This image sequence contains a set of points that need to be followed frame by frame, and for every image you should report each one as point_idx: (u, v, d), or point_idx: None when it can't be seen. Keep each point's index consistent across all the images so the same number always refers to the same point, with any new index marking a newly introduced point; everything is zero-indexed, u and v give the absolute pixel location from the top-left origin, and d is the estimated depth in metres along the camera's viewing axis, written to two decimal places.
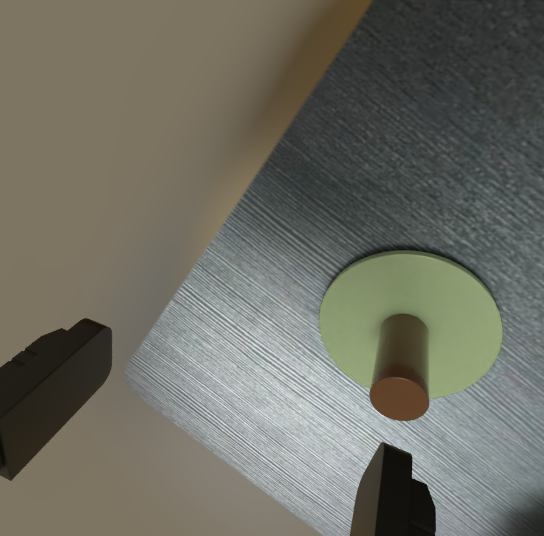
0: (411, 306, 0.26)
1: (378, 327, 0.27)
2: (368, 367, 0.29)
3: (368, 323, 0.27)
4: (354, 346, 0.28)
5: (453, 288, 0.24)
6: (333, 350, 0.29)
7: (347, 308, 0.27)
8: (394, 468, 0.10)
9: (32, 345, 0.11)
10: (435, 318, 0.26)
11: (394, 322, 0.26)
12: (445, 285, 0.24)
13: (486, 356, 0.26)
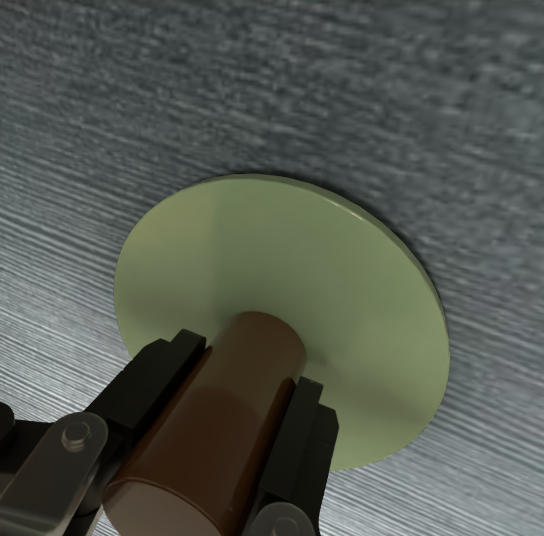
0: (243, 294, 0.13)
1: None
2: None
3: None
4: None
5: (288, 229, 0.11)
6: None
7: (157, 332, 0.15)
8: (304, 394, 0.11)
9: (138, 355, 0.11)
10: (294, 303, 0.12)
11: (216, 335, 0.13)
12: (272, 229, 0.11)
13: (428, 353, 0.12)
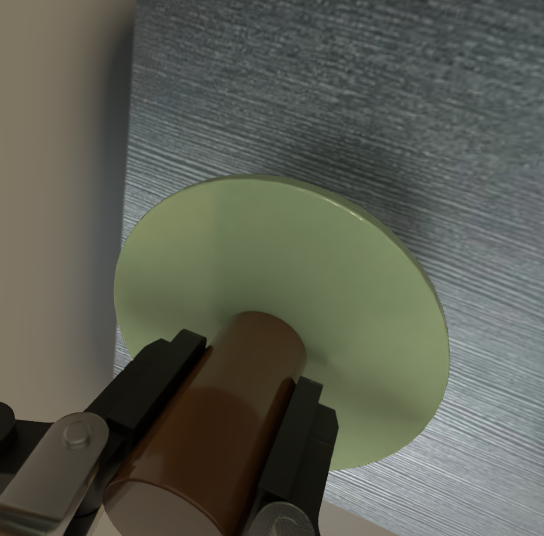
0: (243, 294, 0.13)
1: None
2: None
3: None
4: None
5: (289, 229, 0.11)
6: None
7: (158, 332, 0.15)
8: (304, 393, 0.11)
9: (139, 355, 0.11)
10: (294, 303, 0.12)
11: (216, 335, 0.13)
12: (272, 229, 0.11)
13: (427, 353, 0.12)
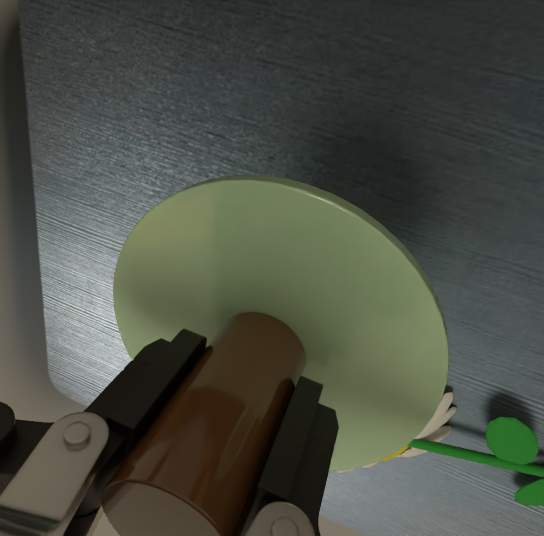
0: (242, 295, 0.13)
1: None
2: None
3: None
4: None
5: (288, 230, 0.11)
6: None
7: (157, 333, 0.15)
8: (304, 393, 0.11)
9: (139, 355, 0.11)
10: (293, 303, 0.12)
11: (215, 336, 0.13)
12: (271, 230, 0.11)
13: (427, 354, 0.12)
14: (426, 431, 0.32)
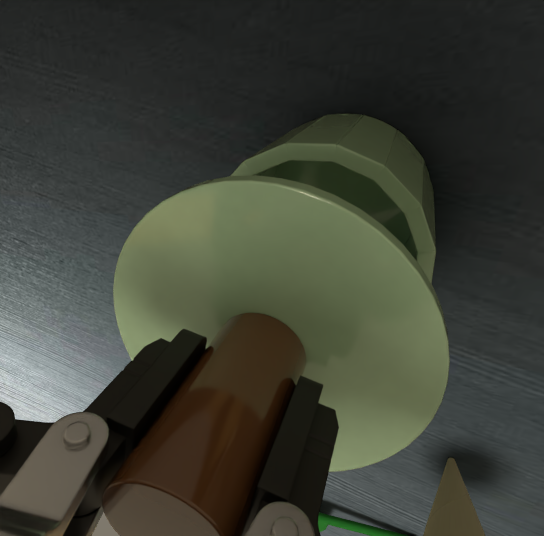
0: (242, 295, 0.13)
1: None
2: None
3: None
4: None
5: (288, 231, 0.11)
6: None
7: (157, 333, 0.15)
8: (304, 393, 0.11)
9: (139, 355, 0.11)
10: (294, 304, 0.12)
11: (216, 336, 0.13)
12: (271, 230, 0.11)
13: (427, 355, 0.12)
14: None
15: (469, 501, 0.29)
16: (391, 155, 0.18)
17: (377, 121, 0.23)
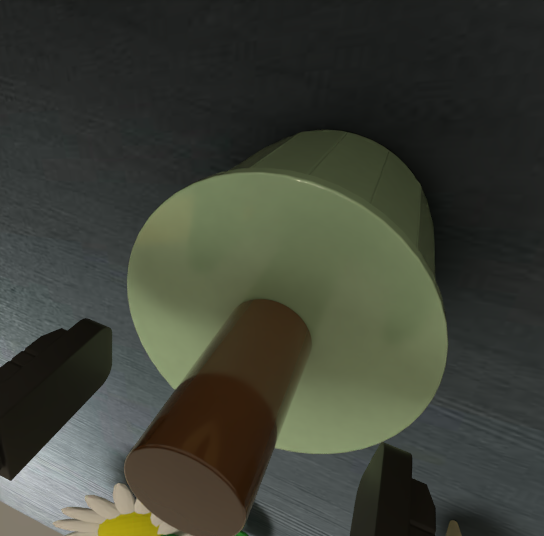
0: (251, 282, 0.13)
1: None
2: None
3: (210, 336, 0.15)
4: None
5: (296, 220, 0.12)
6: None
7: (169, 320, 0.15)
8: (394, 468, 0.10)
9: (32, 345, 0.11)
10: (301, 290, 0.13)
11: (226, 321, 0.13)
12: (280, 219, 0.12)
13: (426, 337, 0.12)
14: (173, 528, 0.35)
15: None
16: (378, 191, 0.14)
17: (364, 140, 0.18)
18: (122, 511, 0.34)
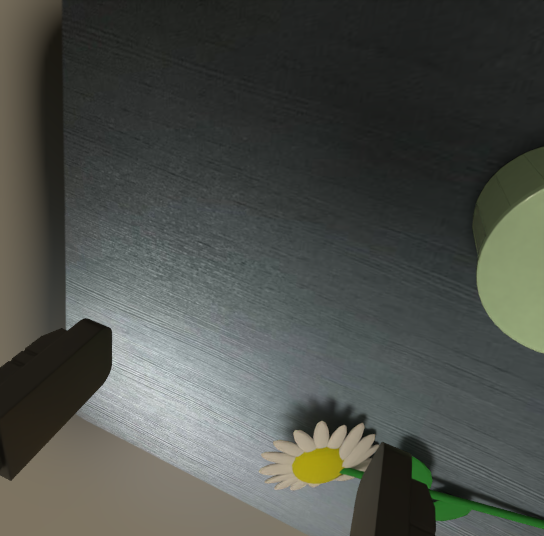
0: None
1: None
2: None
3: (542, 277, 0.23)
4: (531, 310, 0.24)
5: None
6: (505, 323, 0.25)
7: (511, 267, 0.23)
8: (394, 468, 0.10)
9: (32, 345, 0.11)
10: None
11: None
12: None
13: None
14: (353, 462, 0.43)
15: None
16: None
17: None
18: (319, 445, 0.42)
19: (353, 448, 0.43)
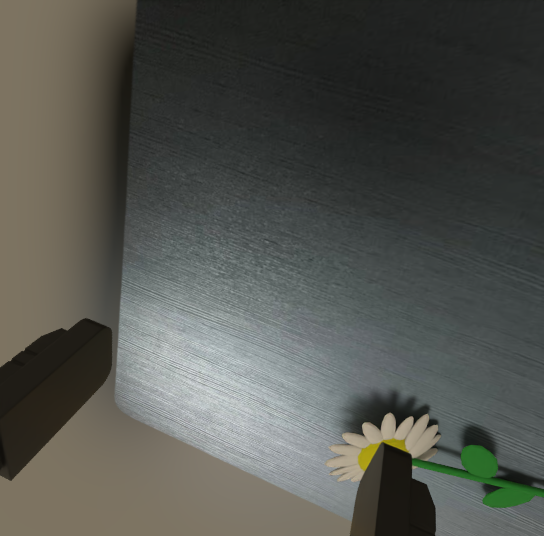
0: None
1: None
2: None
3: None
4: None
5: None
6: None
7: None
8: (394, 468, 0.10)
9: (32, 345, 0.11)
10: None
11: None
12: None
13: None
14: (418, 453, 0.44)
15: None
16: None
17: None
18: (386, 436, 0.43)
19: (418, 439, 0.43)
